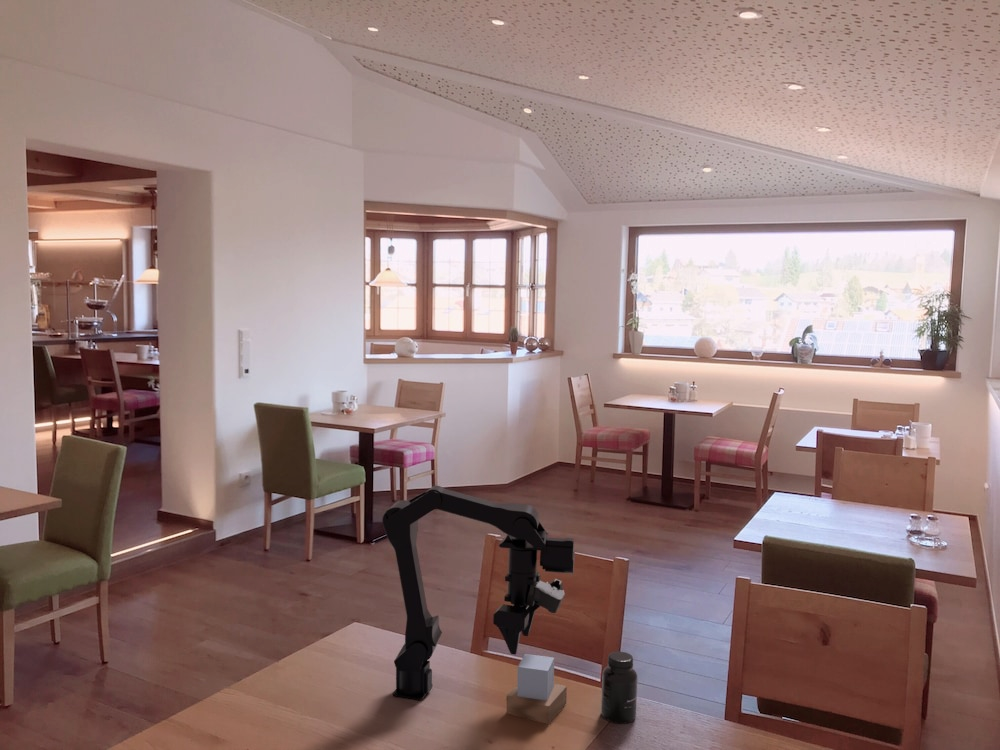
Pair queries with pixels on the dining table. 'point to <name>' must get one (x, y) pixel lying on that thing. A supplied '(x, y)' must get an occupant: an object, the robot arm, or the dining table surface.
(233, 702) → the dining table surface
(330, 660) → the dining table surface
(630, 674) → the supplement bottle
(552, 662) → the slate cube
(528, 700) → the tan flat square block
